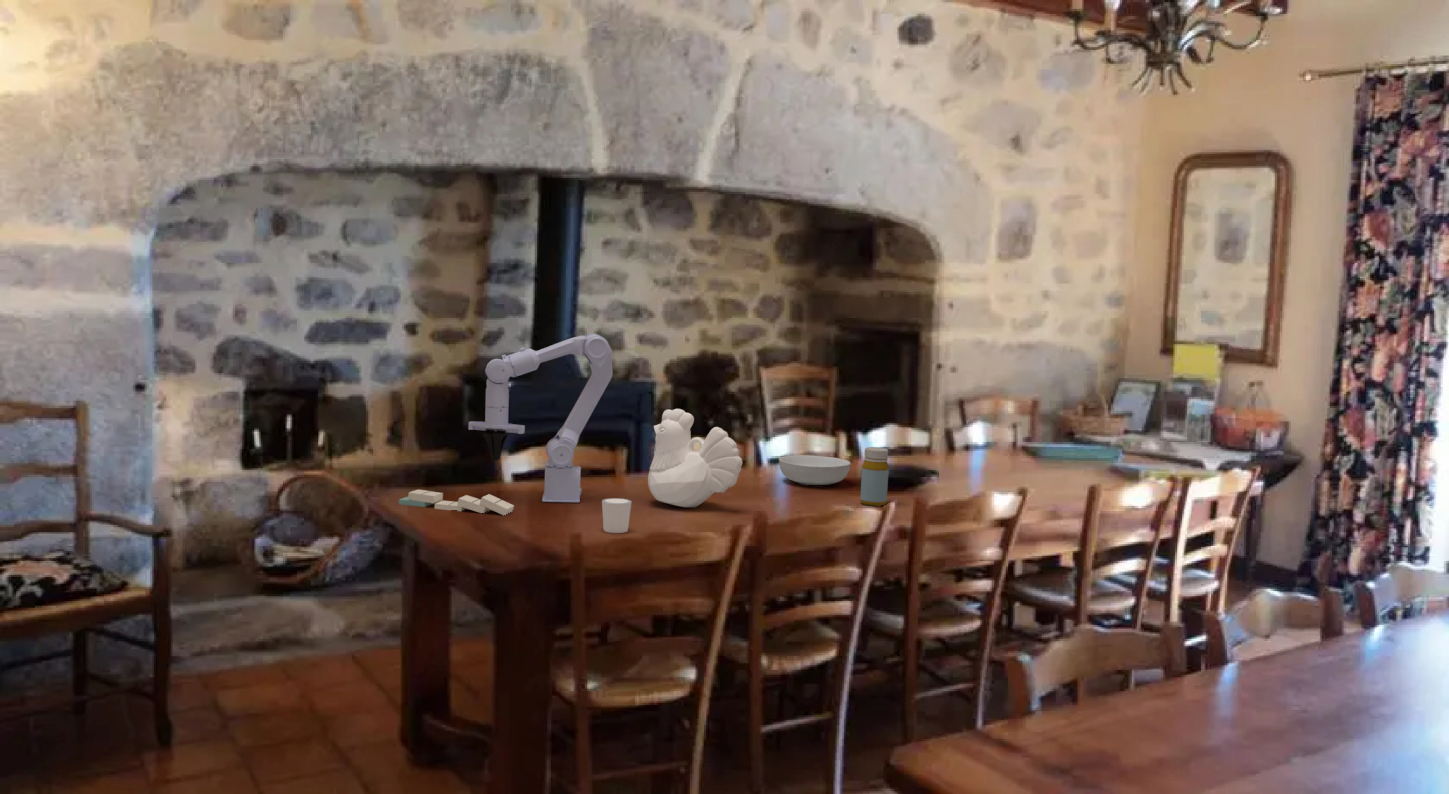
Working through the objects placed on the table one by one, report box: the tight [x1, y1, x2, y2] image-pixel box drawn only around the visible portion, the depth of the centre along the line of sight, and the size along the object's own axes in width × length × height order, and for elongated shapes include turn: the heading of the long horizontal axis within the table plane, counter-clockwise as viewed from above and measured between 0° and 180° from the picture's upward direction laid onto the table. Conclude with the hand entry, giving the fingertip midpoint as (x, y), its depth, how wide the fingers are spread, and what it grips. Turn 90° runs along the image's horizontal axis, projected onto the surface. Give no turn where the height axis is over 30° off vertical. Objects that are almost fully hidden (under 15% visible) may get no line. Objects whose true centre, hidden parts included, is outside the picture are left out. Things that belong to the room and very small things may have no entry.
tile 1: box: [398, 496, 434, 508], centre depth 295 cm, size 2×4×7 cm
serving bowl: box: [778, 454, 852, 486], centre depth 347 cm, size 21×21×7 cm
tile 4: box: [457, 494, 492, 514], centre depth 290 cm, size 2×4×7 cm
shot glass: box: [601, 497, 632, 534], centre depth 277 cm, size 7×7×7 cm
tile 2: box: [408, 489, 444, 504], centre depth 294 cm, size 2×4×7 cm
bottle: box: [860, 446, 890, 507], centre depth 320 cm, size 7×7×15 cm
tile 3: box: [434, 500, 468, 512], centre depth 292 cm, size 2×4×7 cm
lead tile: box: [479, 493, 515, 516], centre depth 289 cm, size 2×4×7 cm
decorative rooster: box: [647, 408, 743, 508], centre depth 305 cm, size 25×16×25 cm, turn 54°
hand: (495, 459), depth 303 cm, fingers closed
